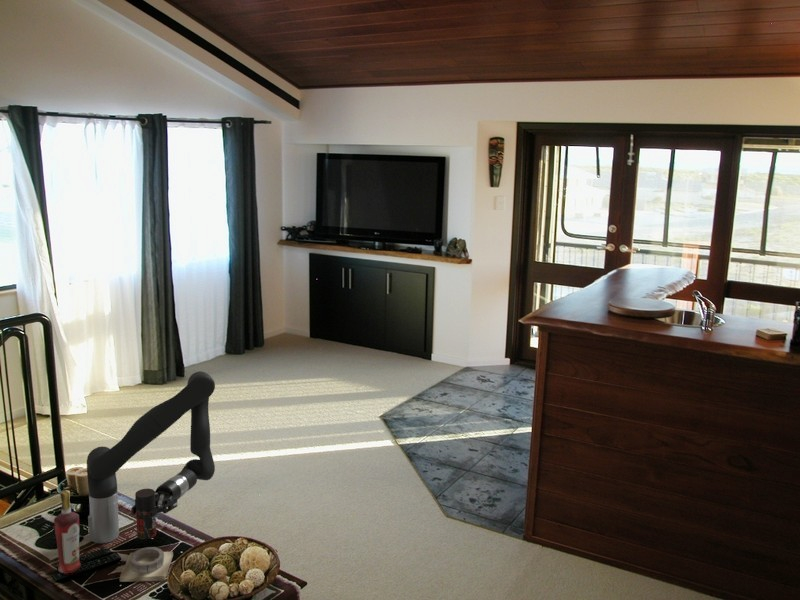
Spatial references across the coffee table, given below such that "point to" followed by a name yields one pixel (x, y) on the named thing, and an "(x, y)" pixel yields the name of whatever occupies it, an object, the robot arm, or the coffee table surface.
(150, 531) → the deodorant
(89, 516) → the robot arm
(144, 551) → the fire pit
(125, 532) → the coffee table surface
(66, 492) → the liquor
